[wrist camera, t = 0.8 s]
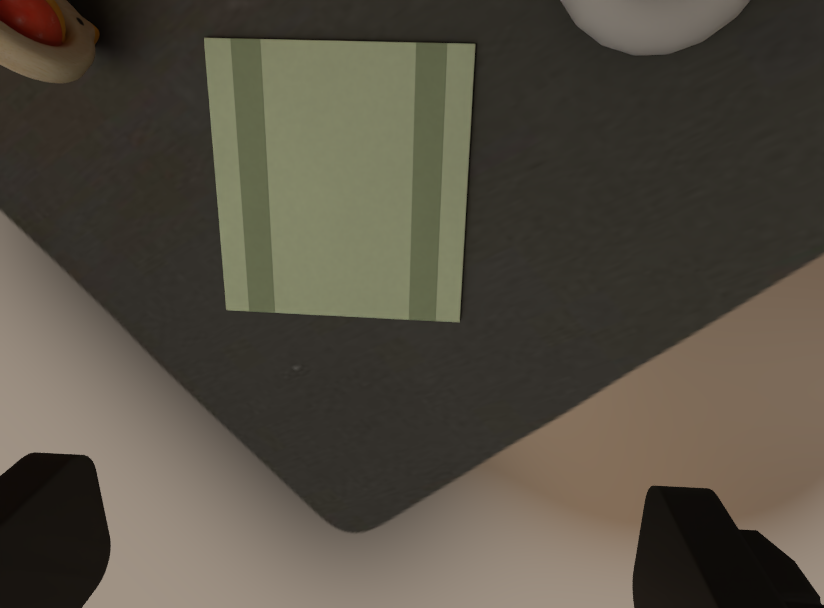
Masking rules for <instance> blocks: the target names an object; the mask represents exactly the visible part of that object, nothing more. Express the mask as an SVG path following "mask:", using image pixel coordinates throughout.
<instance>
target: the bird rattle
mask: <svg viewBox="0 0 824 608" xmlns="http://www.w3.org/2000/svg"><path fill="white" fill-rule="evenodd" d="M98 39H99V30H98V29H97V28H96V27H95V26H94V25H93V24H92V23H90V22H89V21H87V20H86V19H85V18H83V17H82V16H81V15H80V14H79V13H78V12H77V11H76V10H75V9H74V8H73V6H72V5H71V4H70V3H69V2H68V1H67V0H0V65H2V66H4V67H6V68H8V69H10V70H12V71H14V72H17V73H19V74H21V75H24V76H27V77H30V78H33V79H36V80H40V81H45V82H50V83H68V82H72V81H75V80H77V79H79V78H80V77H82V76H83V75H84V74H85V72H86V71H87V69H88V68H89V67H90V66H91V64H92V63H93V61H94V58H95V44H96V42H97V41H98Z"/></svg>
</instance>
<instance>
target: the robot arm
mask: <svg viewBox="0 0 824 608" xmlns="http://www.w3.org/2000/svg"><path fill="white" fill-rule="evenodd" d="M110 546H111V545H110V535H109V530H108V526H107V521H106V516H105V511H104V507H103V502H102V497H101V492H100V487H99V482H98V477H97V472H96V469H95V465H94V463H93V461H92V460H91V459H90V458H89V457H88V456H85V455H72V454H53V453H30V454H28V455H26V456H24V457H23V458H21V459H20V460H19V461H18V462H17V463H15V464H14V465H13V466H12V467H11V468H9V469H8V470H7V471H6V472H5V473H3V474H2V475H1V476H0V608H82V607H83V605H84V604H85V603H86V601H87V600H88V599H89V597H90V596H91V595H92V593H93V592H94V590H95V589H96V588H97V586H98V585H99V583H100V581H101V580H102V578H103V575H104V573H105V571H106V568H107V565H108V561H109V556H110ZM633 601H634V608H824V605H822V604H821V603H820V596H819V595H818V594H817V592H816V591H815V589H814V588H813V587H812V585H811V584H810V582H809V581H808V580H807V578H806V577H805V575H804V574H803V573H802V571H801V570H800V569H799V567H798V566H797V564H796V563H795V561H794V560H792V559H791V558H790V557H789V556H787V555H786V554H785V553H784V552H782V551H781V550H780V549H779V548H777V547H776V546H775V545H774V544H773V543H771V542H770V541H769V540H768V539H766V538H765V537H764V536H763V535H762V534H760V533H759V532H758V531H756V530H739V529H738V528H737V526H736V525H735V523H734V522H733V520H732V519H731V517H730V515H729V514H728V512H727V510H726V509H725V507H724V506H723V504H722V503H721V501H720V499H719V498H718V496H717V495H716V494H715V492H714V491H712V490H711V489H707V488H688V487H668V486H651V487H650V488H649V490H648V492H647V495H646V499H645V504H644V510H643V517H642V523H641V529H640V535H639V541H638V547H637V554H636V559H635V565H634V572H633Z"/></svg>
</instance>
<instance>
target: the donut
mask: <svg viewBox="0 0 824 608" xmlns="http://www.w3.org/2000/svg"><path fill="white" fill-rule="evenodd" d="M560 1H561V2H562V4H563V5H564V7H565V9H566V10H567V12H568V13H569V15H570V17H571V18H572V20H573V21H574V23H575V24H576V26H578V27H579V28H580V29H582V30H583V31H584V32H585V33H587V34H588V35H589V36H590V37H592V38H593V39H594V40H596V41H597V42H598V43H599V44H601V45H602V46H605V47H609V48H612V49H615V50H618V51H621V52H624V53H627V54H631V55H634V56H636V55H667V54H671V53H673V52H676V51H679V50H682V49H685V48H687V47H690V46H693V45H696V44H698V43H701V42H703V41H704V40H706V39H707V38H709V37H710V36H711V35H713V34H714V33H715V32H717V31H718V30H720V29H721V28H722V27H724V26H725V25H726V24H728V23H729V22H730V21H732V20H733V19H735V18H736V17H737V16H738V15H739V14H740V12H741V11H742V10H743V9H744V7H745V6H746V5H747V4H748V2H749V1H750V0H560Z"/></svg>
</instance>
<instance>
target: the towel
mask: <svg viewBox="0 0 824 608" xmlns="http://www.w3.org/2000/svg"><path fill="white" fill-rule="evenodd" d="M204 45H205V57H206V69H207V81H208V93H209V105H210V117H211V129H212V142H213V154H214V166H215V178H216V190H217V202H218V214H219V226H220V238H221V250H222V262H223V274H224V287H225V299H226V310H234V311H251V312H271V313H292V314H311V315H330V316H349V317H368V318H387V319H406V320H423V321H445V322H460V308H461V290H462V273H463V255H464V238H465V220H466V202H467V185H468V167H469V150H470V132H471V115H472V97H473V79H474V62H475V44H465V43H422V42H375V41H330V40H285V39H241V38H204Z"/></svg>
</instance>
